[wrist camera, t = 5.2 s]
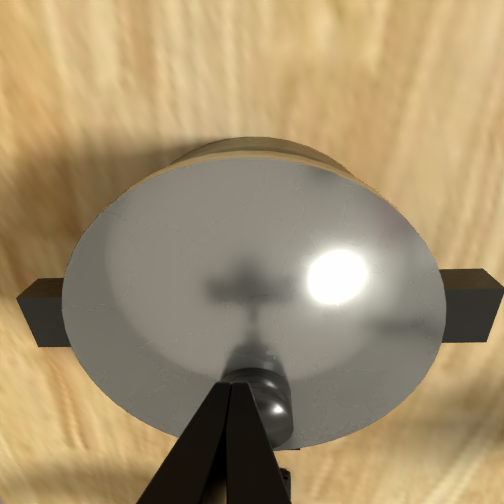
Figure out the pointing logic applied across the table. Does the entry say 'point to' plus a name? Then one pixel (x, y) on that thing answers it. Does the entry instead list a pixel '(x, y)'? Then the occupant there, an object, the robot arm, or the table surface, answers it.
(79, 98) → the table surface
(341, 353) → the lid
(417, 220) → the table surface
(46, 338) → the pot
